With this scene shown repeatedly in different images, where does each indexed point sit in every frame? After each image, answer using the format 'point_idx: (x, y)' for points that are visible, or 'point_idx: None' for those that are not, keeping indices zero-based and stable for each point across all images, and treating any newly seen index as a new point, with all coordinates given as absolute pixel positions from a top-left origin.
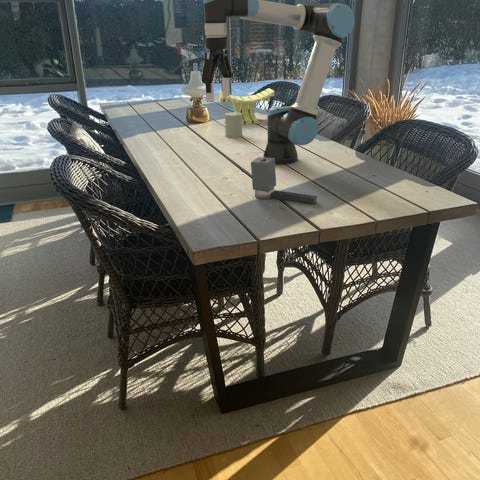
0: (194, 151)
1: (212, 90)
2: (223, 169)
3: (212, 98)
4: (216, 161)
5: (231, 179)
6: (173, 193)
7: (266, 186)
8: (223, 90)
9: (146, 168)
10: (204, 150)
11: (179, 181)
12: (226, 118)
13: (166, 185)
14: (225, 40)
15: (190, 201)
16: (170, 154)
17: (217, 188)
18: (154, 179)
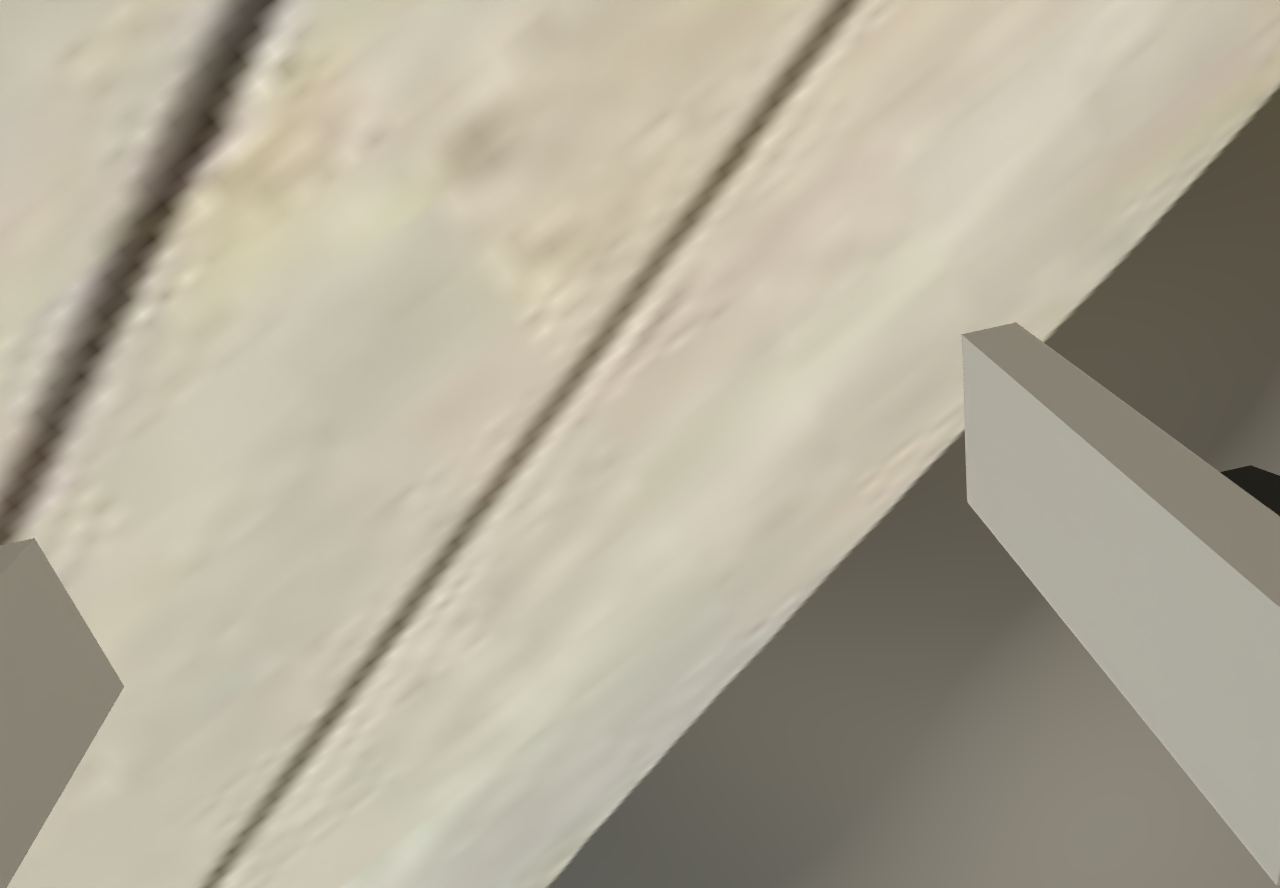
0: (101, 785)
1: (1214, 470)
2: (293, 319)
3: (1063, 376)
4: (165, 504)
5: (469, 78)
6: (987, 268)
7: None
8: (45, 764)
9: (634, 754)
10: None
11: (745, 410)
12: None
13: (861, 425)
14: None
15: (1094, 31)
16: (290, 846)
17: (736, 35)
18: (794, 570)
